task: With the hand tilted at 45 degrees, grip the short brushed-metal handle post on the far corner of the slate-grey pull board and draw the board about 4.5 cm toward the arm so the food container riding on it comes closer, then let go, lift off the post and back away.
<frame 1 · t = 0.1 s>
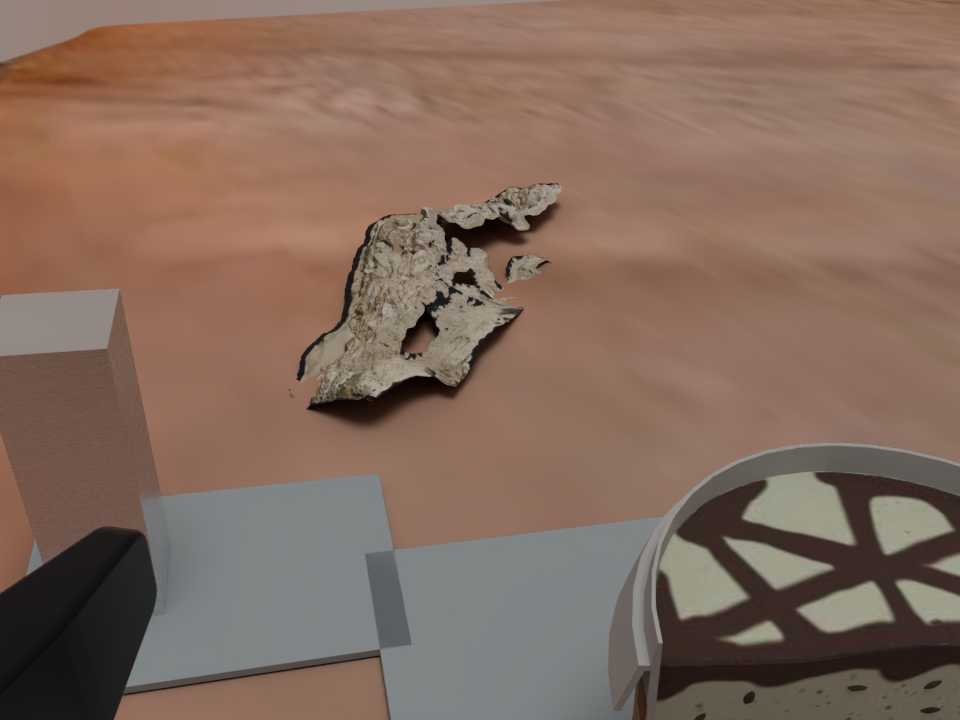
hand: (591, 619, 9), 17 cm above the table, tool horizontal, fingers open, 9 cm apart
pull board: (576, 630, 22), point 5 cm above the table, slide at 0.0 cm, touching food container
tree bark: (456, 297, 47), on the table
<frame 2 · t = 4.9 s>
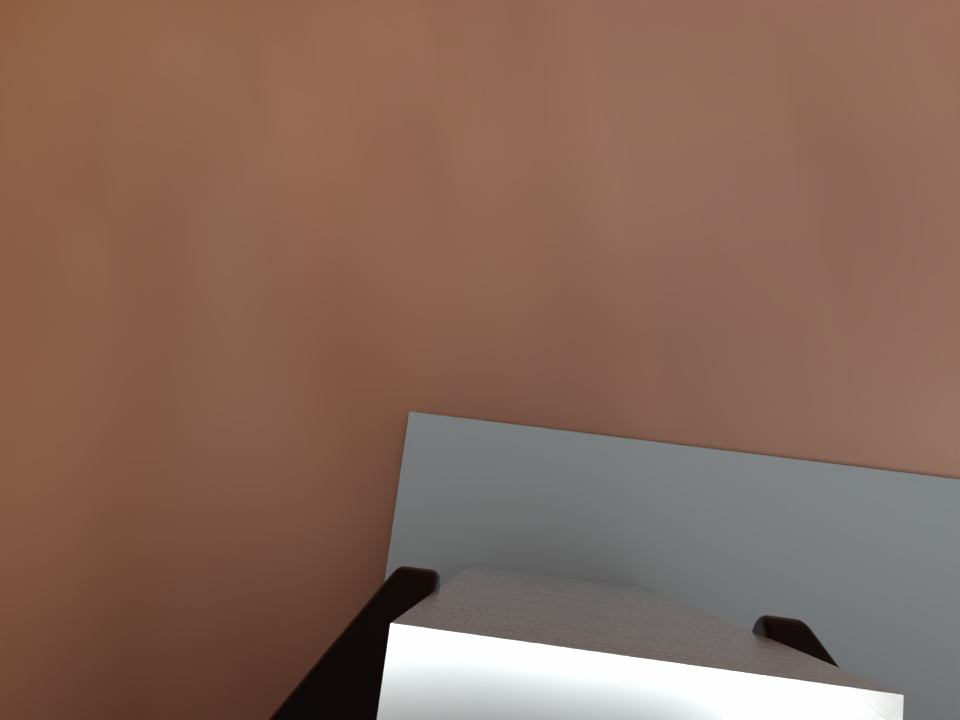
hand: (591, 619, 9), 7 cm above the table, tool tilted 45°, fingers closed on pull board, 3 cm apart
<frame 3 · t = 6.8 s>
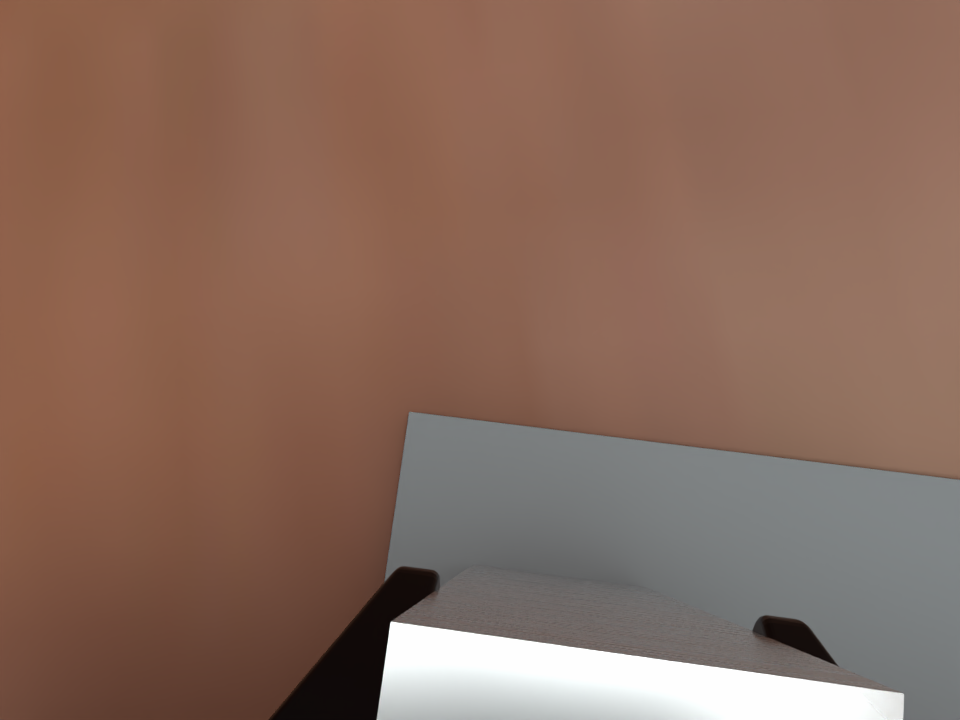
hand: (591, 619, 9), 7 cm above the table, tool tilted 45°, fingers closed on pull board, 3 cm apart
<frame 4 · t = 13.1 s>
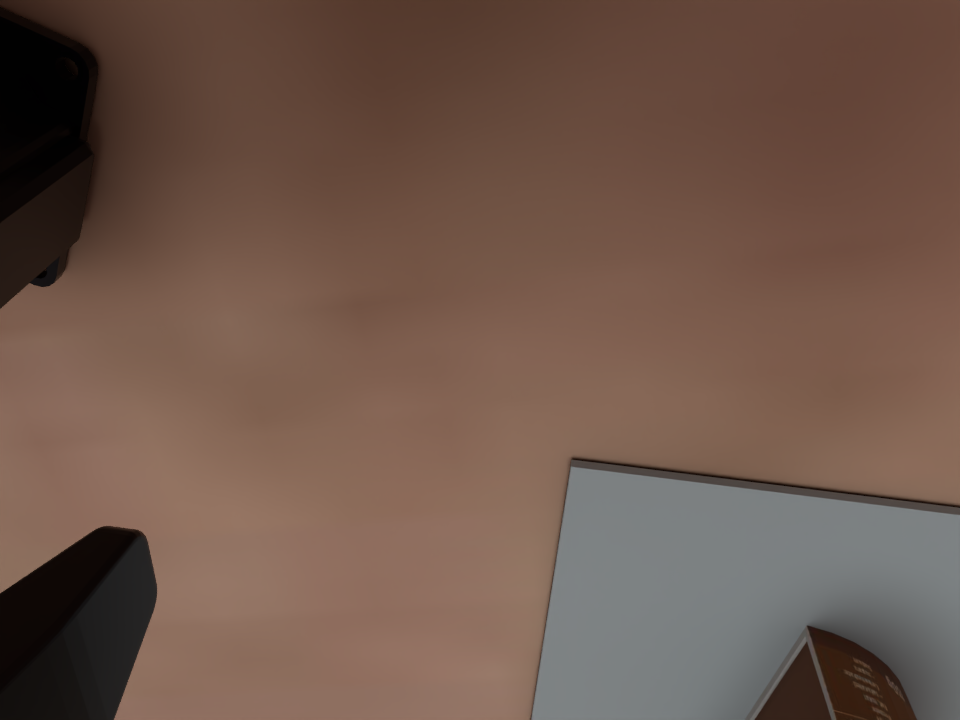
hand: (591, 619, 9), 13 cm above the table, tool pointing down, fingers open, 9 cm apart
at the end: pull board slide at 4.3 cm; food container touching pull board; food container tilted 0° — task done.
